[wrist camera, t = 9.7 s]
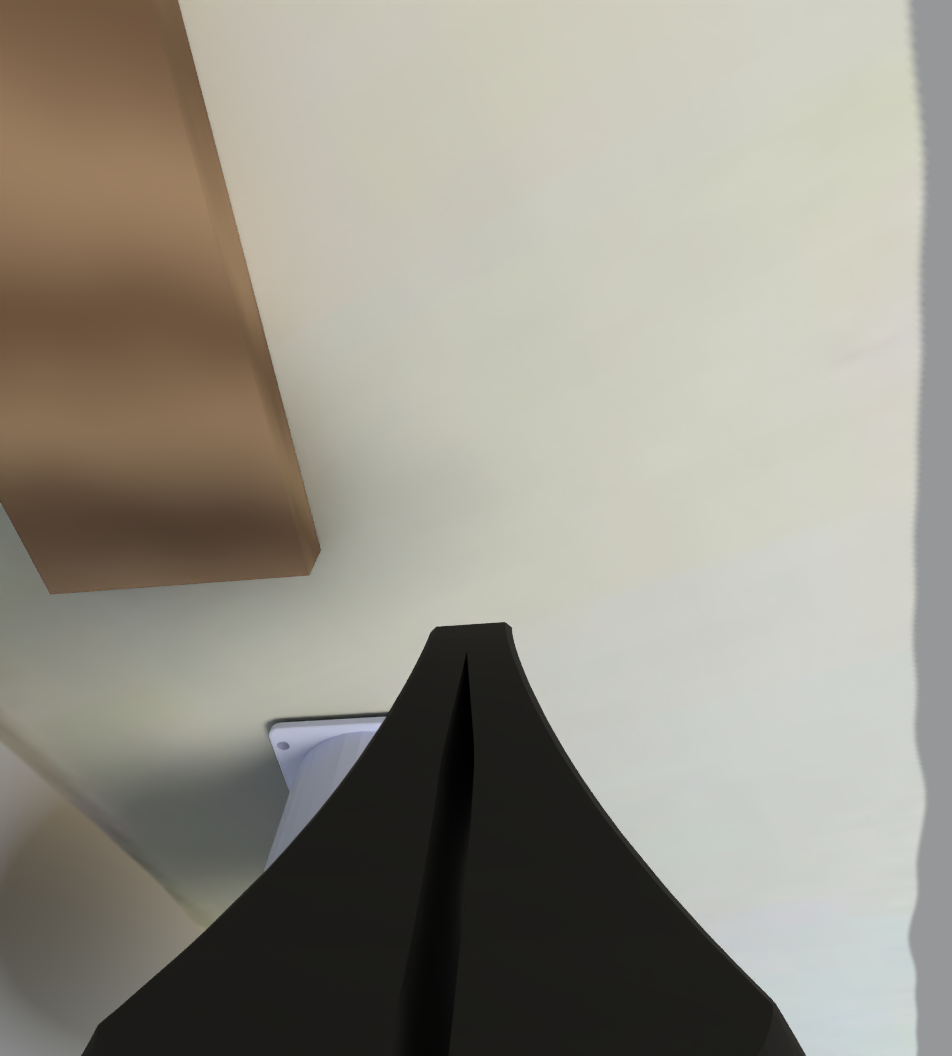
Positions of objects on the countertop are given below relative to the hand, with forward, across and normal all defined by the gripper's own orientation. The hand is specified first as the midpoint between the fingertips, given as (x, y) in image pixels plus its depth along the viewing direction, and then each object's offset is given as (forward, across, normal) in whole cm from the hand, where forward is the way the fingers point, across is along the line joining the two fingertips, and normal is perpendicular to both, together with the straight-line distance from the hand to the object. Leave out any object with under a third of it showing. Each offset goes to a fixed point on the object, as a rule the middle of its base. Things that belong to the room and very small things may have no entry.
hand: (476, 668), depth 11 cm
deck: (+10, +10, -5) cm, 15 cm away
